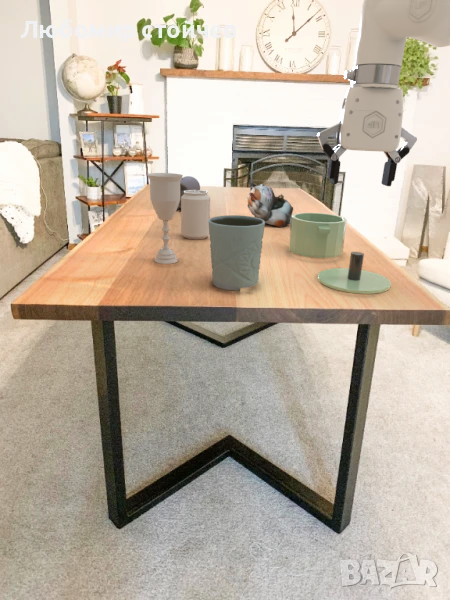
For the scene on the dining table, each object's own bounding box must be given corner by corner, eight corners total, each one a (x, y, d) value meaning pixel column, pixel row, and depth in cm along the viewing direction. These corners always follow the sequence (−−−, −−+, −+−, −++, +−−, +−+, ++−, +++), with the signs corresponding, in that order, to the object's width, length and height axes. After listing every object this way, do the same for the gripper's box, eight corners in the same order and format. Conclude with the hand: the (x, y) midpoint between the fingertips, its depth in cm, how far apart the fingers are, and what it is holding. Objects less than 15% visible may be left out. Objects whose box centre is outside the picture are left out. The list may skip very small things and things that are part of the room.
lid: (378, 275, 92) (383, 245, 89) (399, 298, 79) (406, 265, 77) (312, 272, 92) (315, 243, 90) (323, 295, 79) (327, 262, 77)
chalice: (143, 262, 94) (140, 174, 88) (158, 254, 100) (156, 172, 94) (174, 266, 92) (173, 177, 85) (188, 258, 98) (188, 174, 91)
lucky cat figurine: (291, 229, 130) (273, 186, 124) (254, 240, 136) (235, 200, 129) (297, 206, 142) (281, 167, 135) (263, 217, 147) (246, 180, 140)
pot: (334, 244, 115) (338, 211, 112) (349, 264, 98) (354, 226, 95) (285, 242, 115) (288, 209, 112) (292, 262, 98) (296, 224, 95)
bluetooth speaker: (177, 200, 172) (177, 174, 169) (201, 202, 172) (201, 175, 168) (164, 210, 151) (163, 180, 148) (191, 212, 150) (191, 182, 147)
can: (177, 239, 114) (177, 191, 110) (185, 232, 121) (185, 188, 117) (206, 241, 113) (207, 193, 109) (211, 234, 120) (213, 189, 116)
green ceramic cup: (267, 291, 80) (272, 225, 76) (212, 293, 78) (214, 226, 74) (252, 273, 89) (256, 214, 85) (203, 275, 87) (204, 214, 83)
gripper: (329, 74, 70) (317, 185, 77) (436, 80, 71) (415, 189, 77) (319, 79, 77) (308, 180, 84) (416, 83, 78) (398, 183, 84)
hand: (359, 184), depth 80 cm, fingers open, 9 cm apart
